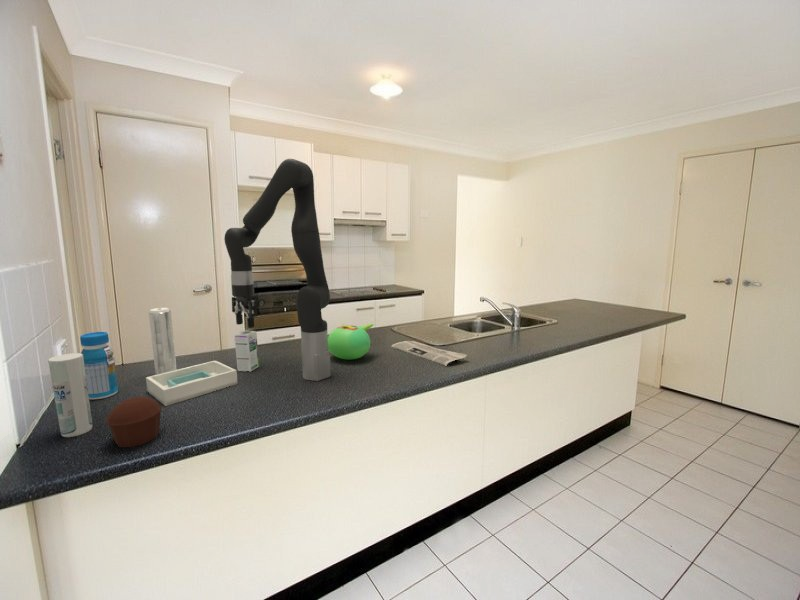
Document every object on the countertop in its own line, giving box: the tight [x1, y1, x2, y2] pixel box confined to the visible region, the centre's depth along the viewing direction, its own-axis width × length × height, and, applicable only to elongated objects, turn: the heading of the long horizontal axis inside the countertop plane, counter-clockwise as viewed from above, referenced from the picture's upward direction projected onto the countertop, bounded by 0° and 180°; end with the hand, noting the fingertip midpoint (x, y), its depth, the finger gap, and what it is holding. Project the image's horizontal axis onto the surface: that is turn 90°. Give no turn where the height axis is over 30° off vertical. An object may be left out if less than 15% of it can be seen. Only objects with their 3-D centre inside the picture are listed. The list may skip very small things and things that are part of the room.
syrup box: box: [233, 330, 260, 373], centre depth 140 cm, size 6×6×14 cm
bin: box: [145, 360, 238, 407], centre depth 123 cm, size 16×22×5 cm
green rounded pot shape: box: [328, 323, 374, 361], centre depth 154 cm, size 18×17×15 cm
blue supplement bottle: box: [79, 331, 119, 401], centre depth 116 cm, size 8×8×20 cm
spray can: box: [47, 352, 93, 438], centre depth 94 cm, size 6×6×20 cm
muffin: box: [104, 396, 163, 448], centre depth 92 cm, size 12×11×10 cm
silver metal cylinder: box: [148, 307, 178, 375], centre depth 132 cm, size 6×6×25 cm
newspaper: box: [390, 340, 468, 367], centre depth 160 cm, size 35×12×4 cm, turn 41°
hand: (245, 325), depth 139 cm, fingers open, 8 cm apart
